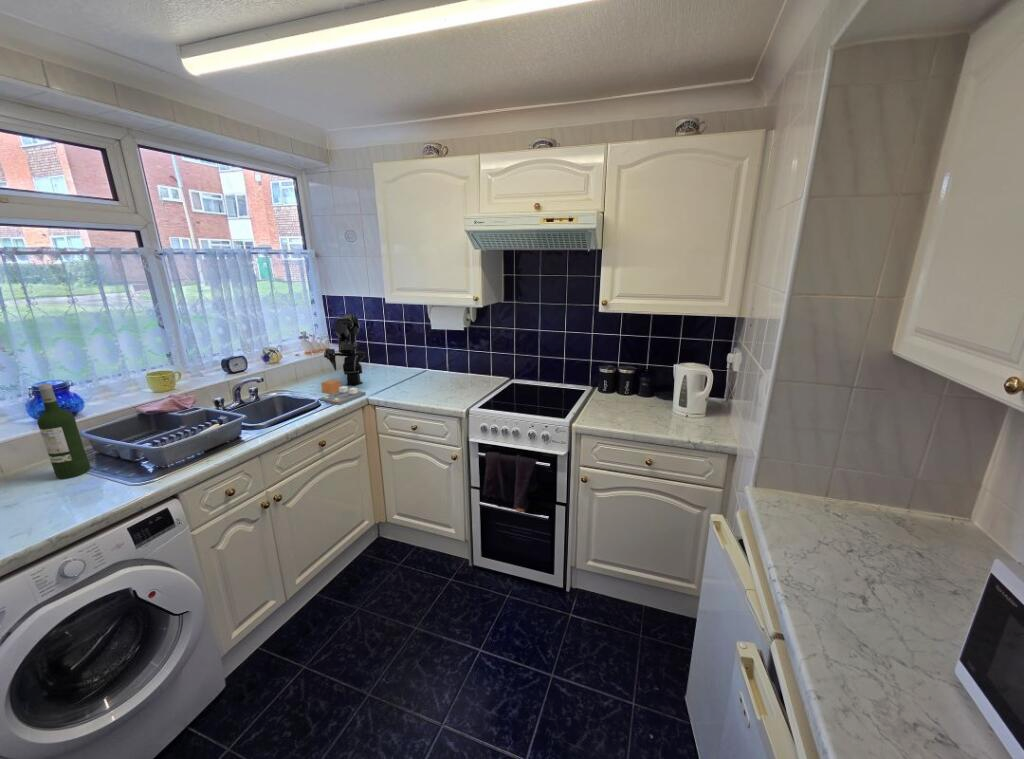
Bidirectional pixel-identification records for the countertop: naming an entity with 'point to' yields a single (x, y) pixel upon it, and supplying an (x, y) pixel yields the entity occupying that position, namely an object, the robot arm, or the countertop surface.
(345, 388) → the breaker
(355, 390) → the breaker
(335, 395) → the grey flat panel
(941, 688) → the countertop surface
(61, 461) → the wine bottle
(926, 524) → the countertop surface
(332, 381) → the lockout cap
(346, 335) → the robot arm
